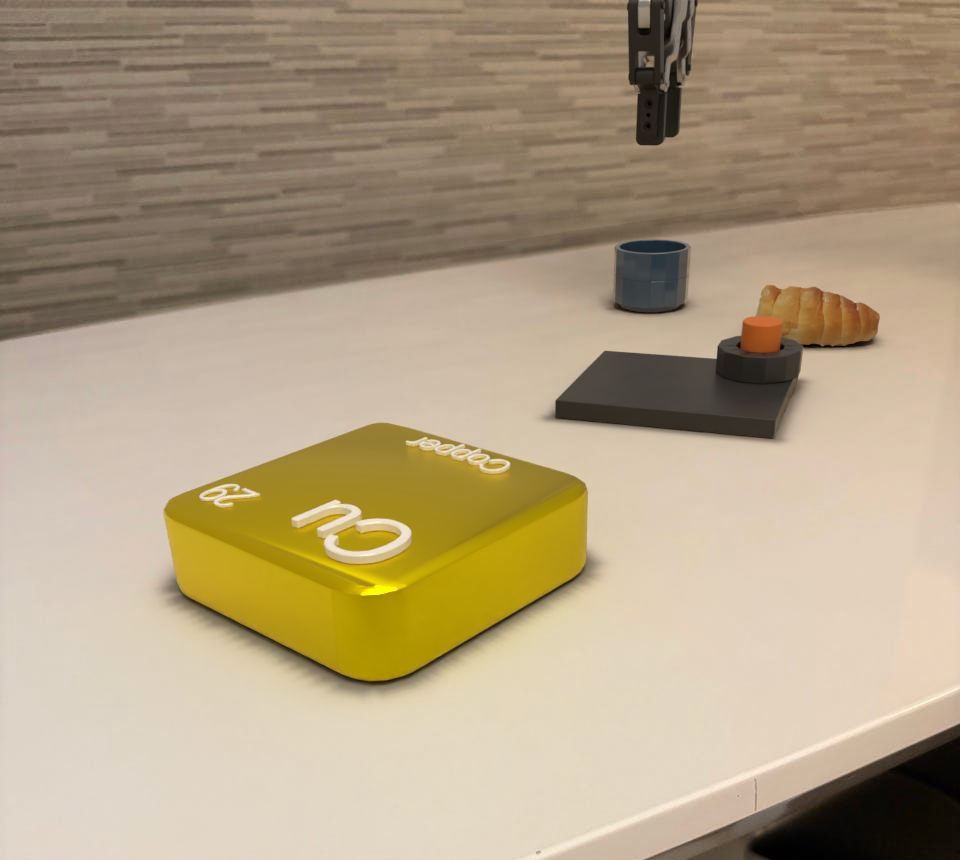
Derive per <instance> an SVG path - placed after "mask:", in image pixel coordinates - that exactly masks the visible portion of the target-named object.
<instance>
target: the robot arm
mask: <svg viewBox="0 0 960 860" xmlns="http://www.w3.org/2000/svg"><path fill="white" fill-rule="evenodd" d="M698 5H699V0H628V1H627V4H626V10H627V36H628V37H627V38H628V40H627V42H628V44H627V45H628V76H627V77H628V83H629V85H630V86H633V89H634V92H635V93H637V97H636V98H637V100H636V101H637V102H636V103H637V104H636V125H635V127H636V128H635V141H636V144H637V145H639V146H657V147H658V146H660V145H662V144H664V142H665V140H666V138H675V137H677V136H678V135H679V133H680V130H681V129H680V127H681V111H682V110H681V109H682V93H683V87H684V86H685V84H686V81H687V77H689V75H690V73H691V71H692V55H693V46H694V35H695V24H696V16H697V8H698ZM649 62H652V66H647V64H648V63H649Z"/></svg>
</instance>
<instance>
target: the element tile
mask: <svg viewBox="0 0 960 860" xmlns="http://www.w3.org/2000/svg"><path fill="white" fill-rule="evenodd" d="M588 500H589V491H588V487H587V484H586V482H584V481H583V480H582V479H580V478H578V477H577V476H575V475H572V474H570V473H568V472H564V471H561V470H557V469H554V468H550V467H547V466H543V465H540V464H536V463H533V462H530V461H527V460H523V459H519V458H515V457H512V456H509V455H505V454H502V453H498V452H495V451H492V450H488V449H484V448H481V447H477V446H475V445H470V444H468V443H464V442H460V441H457V440H453V439H449V438H446V437H443V436H439V435H436V434H432V433H429V432H425V431H422V430H419V429H415V428H412V427H408V426H403V425H399V424H395V423H389V422H375V423H370V424H366V425H364V426H361V427H359V428H356V429H353V430H350V431H348V432H345V433H342V434H340V435H337V436H334V437H332V438H329V439H326V440H323V441H321V442H318V443H315V444H312V445H310V446H307V447H304V448H301V449H299V450H296V451H293V452H291V453H288V454H285V455H282V456H280V457H277V458H274V459H272V460H269V461H267V462H263V463H260V464H258V465H255V466H253V467H250V468H248V469H245V470H242V471H238V472H236V473H233V474H231V475H228V476H225V477H223V478H220V479H218V480H215V481H212V482H209V483H207V484H204V485H201V486H198V487H196V488H193V489H190V490H188V491H185V492H183V493H180V494H178V495H176V496H172V498H170V499H168V501H167V503H166V504H165V506H164V508H163V512H162V513H163V520H164V524H165V528H166V535H167V540H168V544H169V549H170V554H171V560H172V565H173V570H174V576H175V579H176V584H177V585H178V587H179V589H180V591H181V592H182V594H184V595H185V596H186V597H187V598H189V599H191V600H194V601H195V602H197V603H199V604H201V605H203V606H205V607H207V608H208V609H211V610H213V611H215V612H217V613H219V614H221V615H223V616H225V617H227V618H229V619H231V620H233V621H235V622H237V623H239V624H241V625H243V626H244V627H247V628H249V629H251V630H253V631H255V632H257V633H259V634H261V635H262V636H265V637H266V638H269V639H271V640H273V641H275V642H276V643H279V644H281V645H282V646H284V647H286V648H289V649H290V650H293V651H295V652H297V653H299V654H300V655H302V656H304V657H306V658H309V659H310V660H313V661H314V662H316V663H319V664H321V665H322V666H323V667H324V666H325V667H326V668H329V669H330V670H332V671H334V672H336V673H338V674H340V675H342V676H344V677H348V678H351V679H353V680H358V681H363V682H387V681H391V680H394V679H398V678H402V677H405V676H407V675H410V674H412V673H414V672H416V671H417V670H420V669H421V668H422V667H424V666H426V665H428V664H430V663H431V662H433V661H434V660H436V659H438V658H439V657H442V656H443V655H444V654H447V653H448V652H450V651H452V650H454V649H455V648H457V647H459V646H460V645H461V644H464V643H465V642H467V641H469V640H470V639H472V638H473V637H475V636H477V635H479V634H480V633H482V632H483V631H486V630H487V629H489V628H490V627H492V626H494V625H496V624H498V623H499V622H501V621H503V620H504V619H505V618H508V617H510V616H511V615H513V614H514V613H517V612H518V611H519V610H522V609H523V608H525V607H527V606H528V605H529V604H531V603H533V602H536V601H537V600H539V599H541V597H543V596H546V595H547V594H549V593H550V592H552V591H553V590H556V589H557V588H559V587H560V586H562V585H563V584H565V583H567V582H569V581H570V580H572V579H574V578H575V577H577V576H578V575H579V574H580V573H581V572H582V570H583V568H584V566H585V565H586V562H587V551H588V550H587V549H588V507H589V506H588V503H589V502H588Z"/></svg>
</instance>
